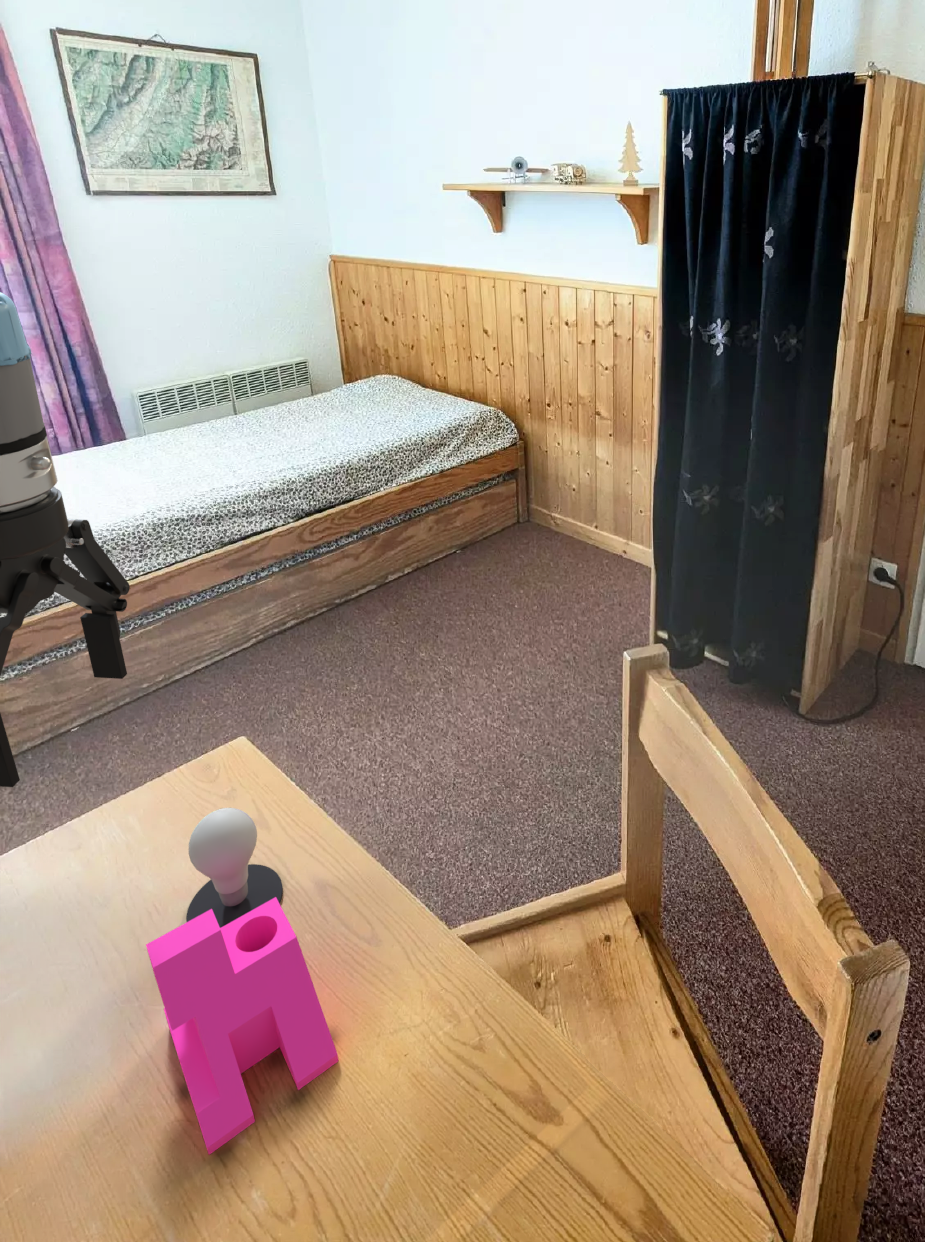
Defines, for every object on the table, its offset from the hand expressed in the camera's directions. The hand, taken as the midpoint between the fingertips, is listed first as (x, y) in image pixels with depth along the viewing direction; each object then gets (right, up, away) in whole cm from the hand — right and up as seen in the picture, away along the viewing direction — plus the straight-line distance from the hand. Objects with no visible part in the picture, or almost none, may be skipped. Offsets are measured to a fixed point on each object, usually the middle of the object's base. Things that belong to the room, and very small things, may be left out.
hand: (60, 724), depth 66 cm
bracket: (+16, -28, 0) cm, 32 cm away
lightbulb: (+9, -23, +12) cm, 27 cm away
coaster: (+9, -23, +13) cm, 28 cm away
